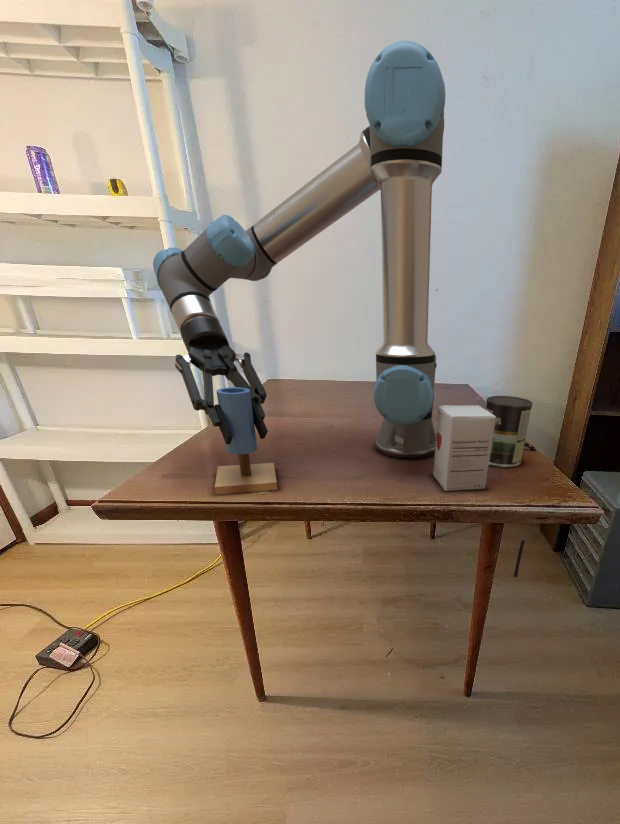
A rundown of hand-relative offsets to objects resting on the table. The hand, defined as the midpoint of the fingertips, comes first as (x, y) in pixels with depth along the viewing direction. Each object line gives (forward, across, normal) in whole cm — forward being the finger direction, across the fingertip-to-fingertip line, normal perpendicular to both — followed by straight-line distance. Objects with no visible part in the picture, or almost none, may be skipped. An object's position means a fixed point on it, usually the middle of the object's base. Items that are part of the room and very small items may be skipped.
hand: (247, 437), depth 78 cm
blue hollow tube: (0, 0, -5) cm, 5 cm away
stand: (+4, 0, -10) cm, 10 cm away
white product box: (+21, -36, +8) cm, 42 cm away
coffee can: (+18, -55, +5) cm, 58 cm away
